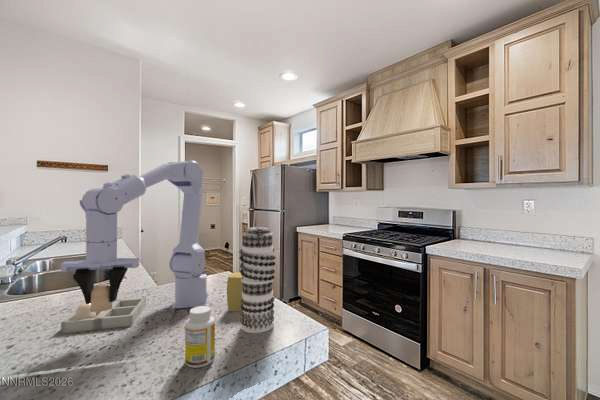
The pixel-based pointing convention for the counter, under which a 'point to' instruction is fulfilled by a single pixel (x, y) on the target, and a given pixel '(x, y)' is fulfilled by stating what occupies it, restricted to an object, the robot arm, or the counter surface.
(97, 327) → the carton
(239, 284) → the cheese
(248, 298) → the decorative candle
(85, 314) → the pale egg
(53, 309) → the counter surface
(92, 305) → the egg
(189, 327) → the supplement bottle
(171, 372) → the counter surface
